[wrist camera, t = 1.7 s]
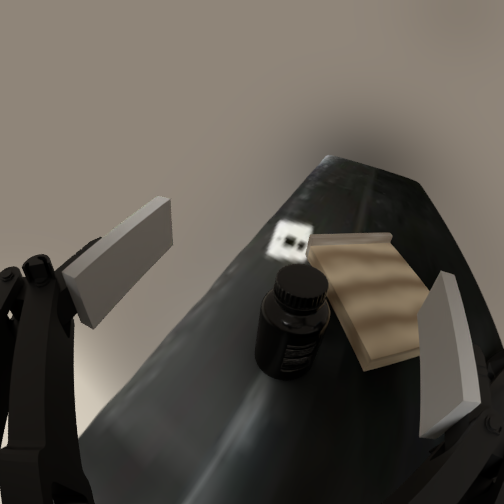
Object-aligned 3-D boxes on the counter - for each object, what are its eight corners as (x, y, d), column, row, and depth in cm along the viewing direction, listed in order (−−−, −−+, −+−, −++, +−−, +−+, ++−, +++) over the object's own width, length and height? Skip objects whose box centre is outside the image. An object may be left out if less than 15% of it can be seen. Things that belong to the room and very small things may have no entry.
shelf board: (451, 344, 35) (465, 325, 33) (363, 371, 32) (376, 351, 30) (382, 249, 54) (388, 231, 51) (304, 253, 51) (309, 233, 48)
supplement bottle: (318, 345, 35) (346, 269, 28) (302, 390, 30) (334, 318, 23) (265, 327, 37) (279, 248, 30) (244, 369, 32) (253, 292, 25)
